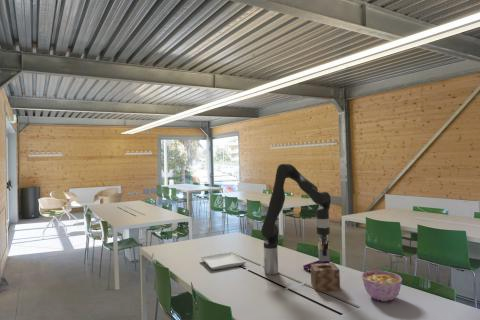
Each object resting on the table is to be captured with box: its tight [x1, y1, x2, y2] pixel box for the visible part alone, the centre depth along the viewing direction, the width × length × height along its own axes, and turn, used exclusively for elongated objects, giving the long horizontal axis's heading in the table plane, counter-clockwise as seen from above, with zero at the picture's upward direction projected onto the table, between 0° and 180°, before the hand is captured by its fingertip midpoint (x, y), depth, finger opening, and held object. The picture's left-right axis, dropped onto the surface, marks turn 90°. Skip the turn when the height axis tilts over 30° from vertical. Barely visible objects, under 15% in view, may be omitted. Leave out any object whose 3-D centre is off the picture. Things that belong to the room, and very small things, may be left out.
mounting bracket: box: [303, 259, 331, 269], centre depth 225 cm, size 9×8×18 cm
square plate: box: [199, 252, 247, 271], centre depth 248 cm, size 27×27×4 cm
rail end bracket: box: [317, 242, 331, 261], centre depth 197 cm, size 6×3×10 cm, turn 90°
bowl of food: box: [361, 270, 403, 302], centre depth 179 cm, size 20×20×12 cm
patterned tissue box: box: [310, 262, 341, 292], centre depth 197 cm, size 14×12×12 cm
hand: (324, 254), depth 197 cm, fingers closed on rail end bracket, 3 cm apart
